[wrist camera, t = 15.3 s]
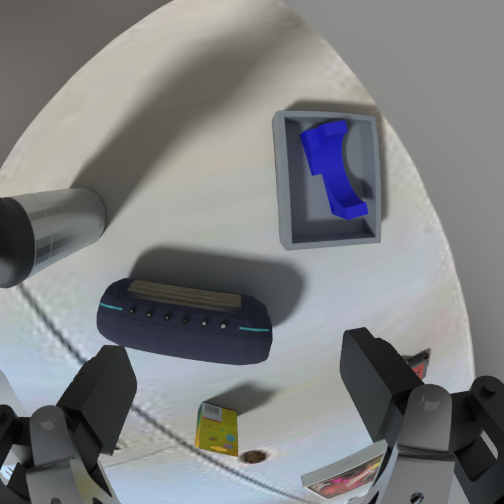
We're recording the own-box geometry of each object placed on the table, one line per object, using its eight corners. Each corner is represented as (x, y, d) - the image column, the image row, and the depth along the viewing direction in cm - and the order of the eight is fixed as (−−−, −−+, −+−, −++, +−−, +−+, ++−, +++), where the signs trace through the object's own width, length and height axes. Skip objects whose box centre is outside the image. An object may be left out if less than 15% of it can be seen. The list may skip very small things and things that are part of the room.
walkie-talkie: (425, 342, 47) (344, 378, 47) (436, 353, 43) (351, 392, 43) (422, 370, 49) (346, 404, 49) (431, 381, 45) (353, 418, 45)
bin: (279, 241, 39) (286, 250, 34) (271, 119, 34) (277, 110, 30) (365, 235, 39) (380, 242, 35) (360, 122, 35) (375, 116, 30)
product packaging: (300, 474, 57) (303, 487, 53) (388, 433, 55) (394, 445, 50) (324, 490, 63) (326, 500, 58) (397, 455, 60) (402, 465, 56)
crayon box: (197, 409, 47) (192, 454, 35) (202, 401, 46) (197, 446, 35) (232, 419, 48) (232, 463, 37) (237, 411, 47) (239, 456, 36)
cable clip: (299, 134, 34) (311, 126, 28) (328, 128, 34) (344, 120, 28) (322, 216, 37) (337, 223, 32) (350, 208, 37) (368, 213, 31)
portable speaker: (273, 288, 41) (284, 319, 31) (262, 342, 43) (269, 382, 34) (114, 265, 39) (84, 288, 29) (116, 320, 41) (92, 352, 31)
